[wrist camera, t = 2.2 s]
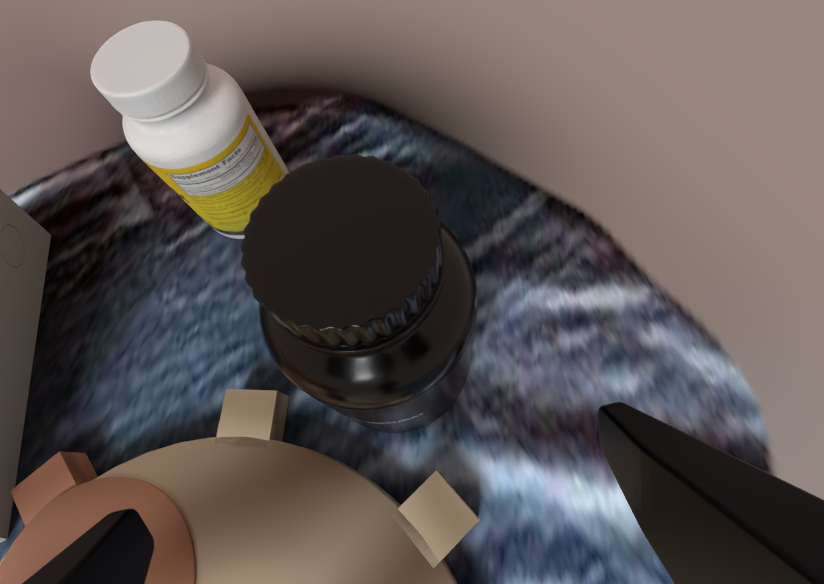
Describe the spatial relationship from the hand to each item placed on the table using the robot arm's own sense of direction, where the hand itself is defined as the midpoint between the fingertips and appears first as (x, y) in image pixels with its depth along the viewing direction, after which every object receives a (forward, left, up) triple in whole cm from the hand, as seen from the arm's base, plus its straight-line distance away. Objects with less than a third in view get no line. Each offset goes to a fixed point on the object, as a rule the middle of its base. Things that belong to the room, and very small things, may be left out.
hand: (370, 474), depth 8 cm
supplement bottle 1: (+17, -3, -12) cm, 21 cm away
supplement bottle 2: (+4, -3, -12) cm, 13 cm away
